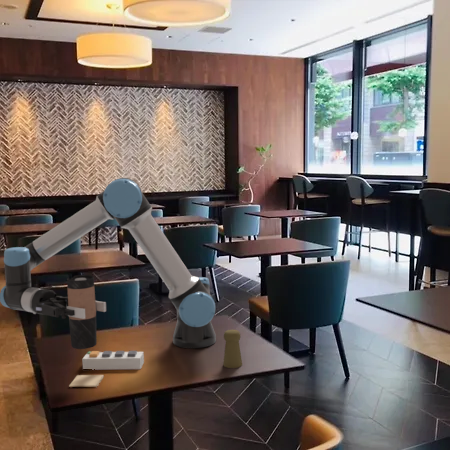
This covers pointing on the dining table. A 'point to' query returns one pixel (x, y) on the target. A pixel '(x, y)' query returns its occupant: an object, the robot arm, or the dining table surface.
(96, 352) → the socket strip
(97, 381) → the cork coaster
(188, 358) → the dining table surface
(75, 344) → the travel mug
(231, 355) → the pepper shaker
